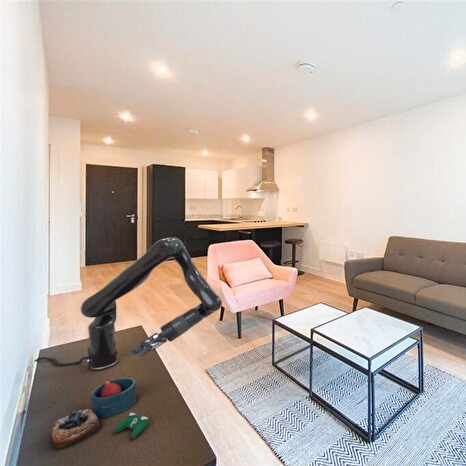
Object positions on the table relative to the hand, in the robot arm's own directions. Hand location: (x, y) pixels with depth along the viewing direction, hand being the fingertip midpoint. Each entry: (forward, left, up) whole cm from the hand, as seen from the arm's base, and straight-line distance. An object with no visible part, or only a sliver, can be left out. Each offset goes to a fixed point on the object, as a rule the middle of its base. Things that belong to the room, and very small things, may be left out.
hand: (135, 354), depth 115 cm
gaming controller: (+16, -21, -15) cm, 30 cm away
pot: (0, -10, -15) cm, 18 cm away
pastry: (-2, -23, -15) cm, 27 cm away
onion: (-1, -10, -13) cm, 17 cm away
